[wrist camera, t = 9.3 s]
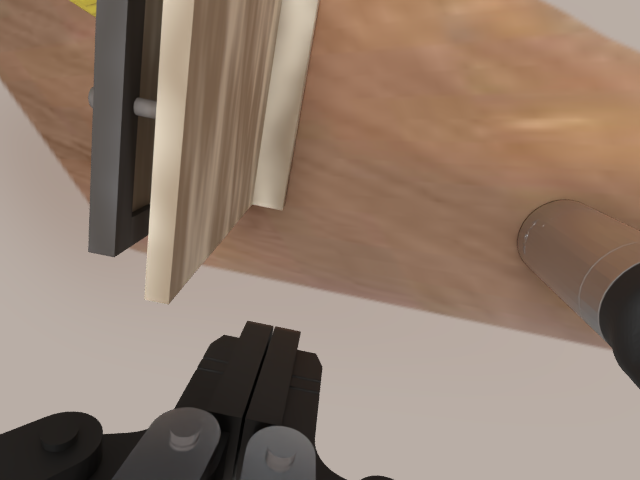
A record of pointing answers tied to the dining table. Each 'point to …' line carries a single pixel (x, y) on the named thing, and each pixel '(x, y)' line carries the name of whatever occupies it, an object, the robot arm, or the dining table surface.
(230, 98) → the wall board stand
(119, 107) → the picture frame
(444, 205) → the dining table surface
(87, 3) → the yellow horseshoe piece
